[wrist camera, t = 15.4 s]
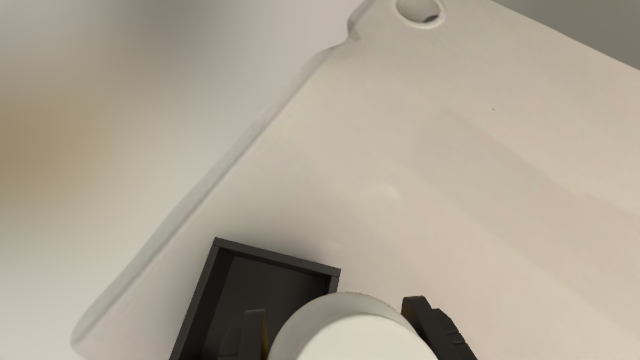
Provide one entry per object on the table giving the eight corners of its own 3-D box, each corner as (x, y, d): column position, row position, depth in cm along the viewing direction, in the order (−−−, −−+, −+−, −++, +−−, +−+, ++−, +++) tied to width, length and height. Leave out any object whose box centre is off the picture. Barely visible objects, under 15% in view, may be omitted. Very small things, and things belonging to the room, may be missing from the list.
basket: (307, 399, 27) (308, 428, 21) (189, 367, 28) (158, 387, 22) (334, 274, 32) (341, 269, 26) (231, 248, 32) (214, 236, 26)
